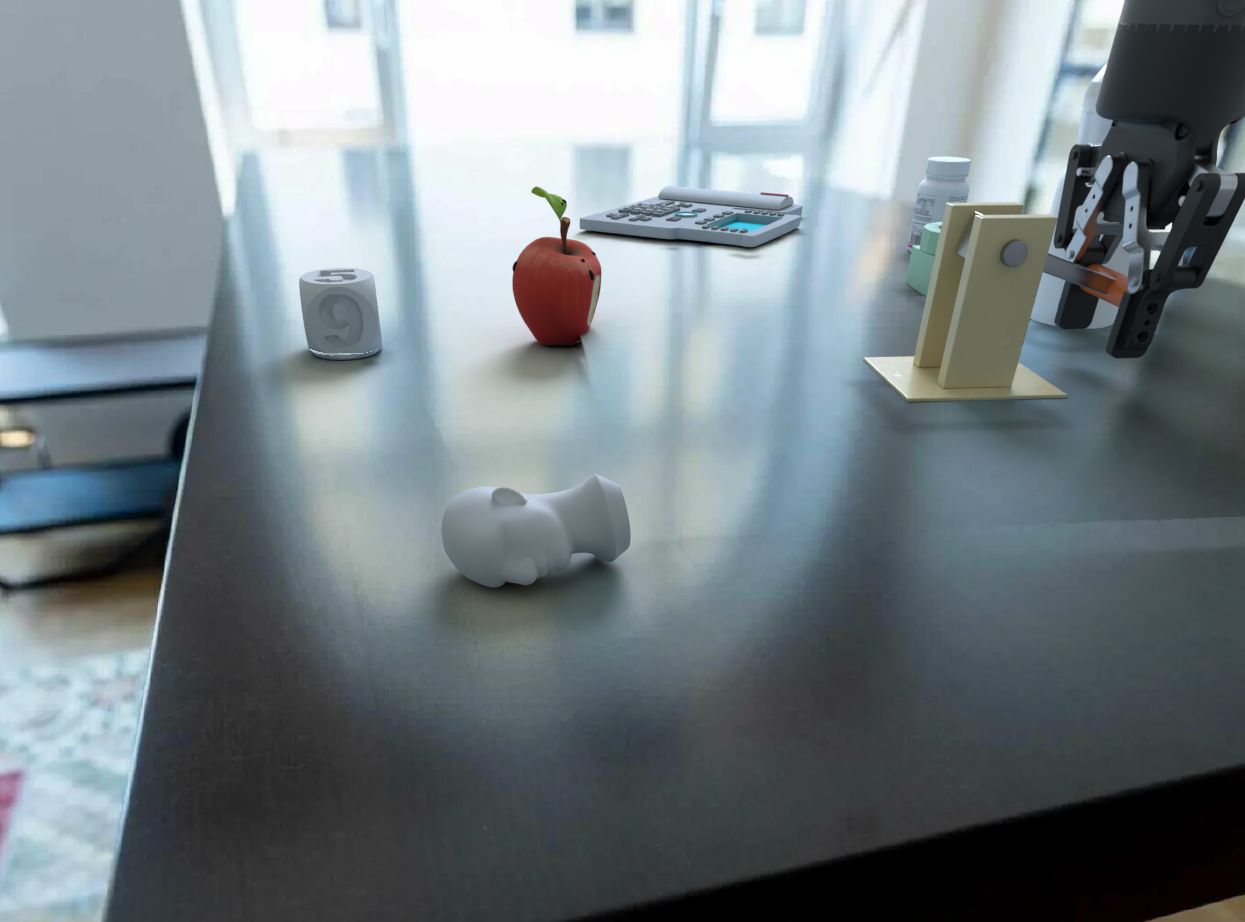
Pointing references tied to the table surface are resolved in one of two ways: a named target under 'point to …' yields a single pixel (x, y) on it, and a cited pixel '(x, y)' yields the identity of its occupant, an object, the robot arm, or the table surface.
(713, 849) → the table surface
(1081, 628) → the table surface
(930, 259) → the button block
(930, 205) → the pill bottle
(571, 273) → the apple
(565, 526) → the white mannequin head
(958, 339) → the switch bracket
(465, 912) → the table surface
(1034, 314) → the can
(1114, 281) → the switch lever
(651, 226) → the office telephone
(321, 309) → the die
